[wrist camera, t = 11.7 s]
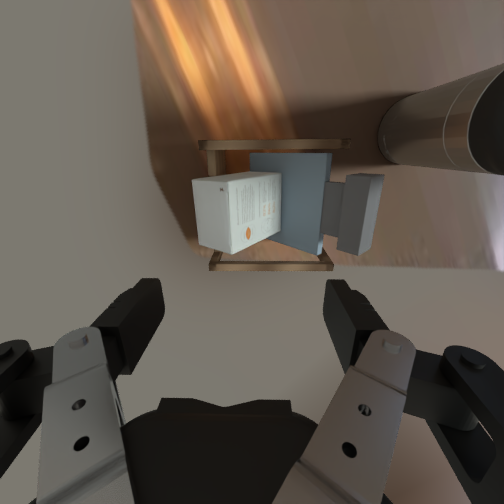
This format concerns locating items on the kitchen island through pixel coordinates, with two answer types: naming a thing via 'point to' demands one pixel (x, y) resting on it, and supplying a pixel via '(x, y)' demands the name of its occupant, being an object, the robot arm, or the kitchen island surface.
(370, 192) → the trapdoor
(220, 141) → the trapdoor frame
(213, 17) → the kitchen island surface
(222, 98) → the kitchen island surface
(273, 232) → the small box
